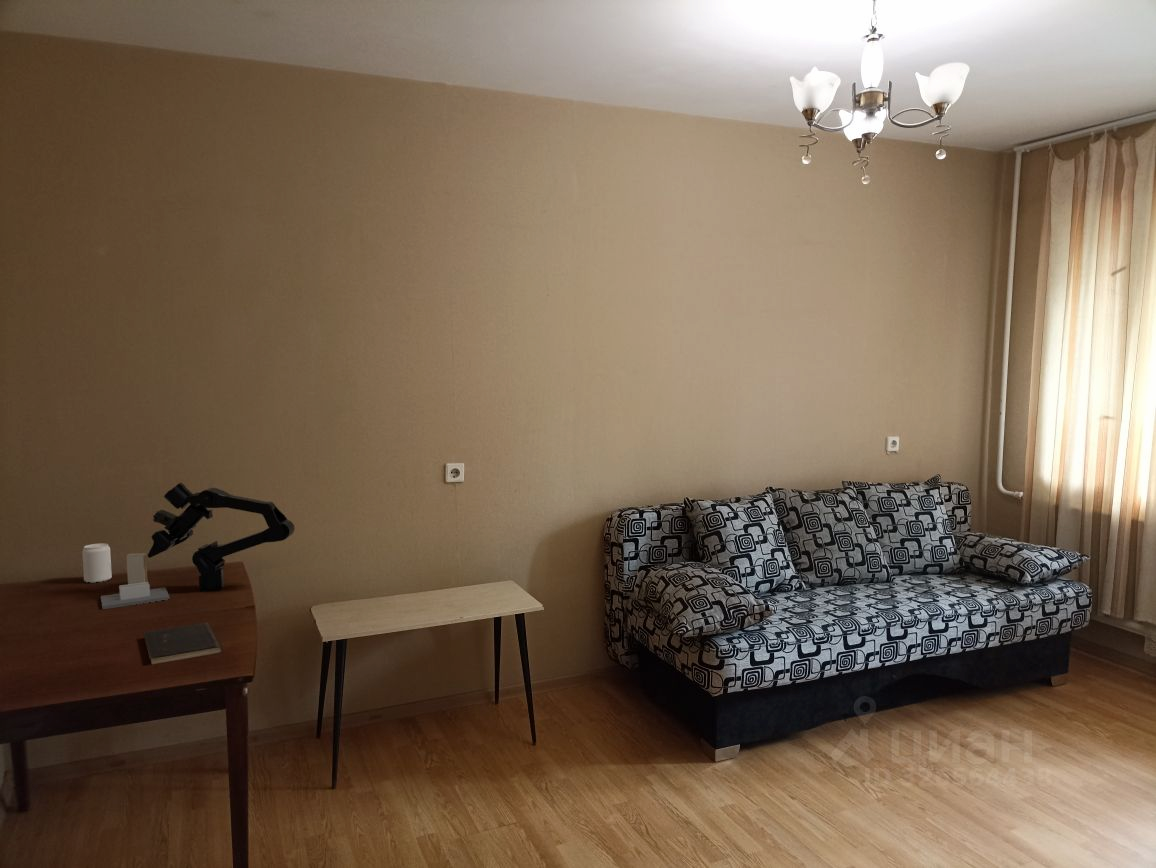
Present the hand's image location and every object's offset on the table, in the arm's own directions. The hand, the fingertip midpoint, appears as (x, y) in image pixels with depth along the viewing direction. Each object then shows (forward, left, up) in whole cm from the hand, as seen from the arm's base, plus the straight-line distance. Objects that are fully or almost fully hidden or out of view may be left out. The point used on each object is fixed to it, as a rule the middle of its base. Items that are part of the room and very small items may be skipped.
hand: (155, 553), depth 262 cm
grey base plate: (+4, +10, -12) cm, 16 cm away
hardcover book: (-20, +60, -13) cm, 65 cm away
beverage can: (+23, -19, -12) cm, 32 cm away
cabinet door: (+6, -1, -12) cm, 13 cm away
